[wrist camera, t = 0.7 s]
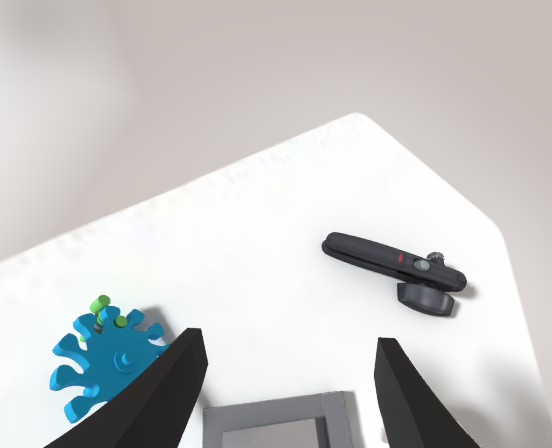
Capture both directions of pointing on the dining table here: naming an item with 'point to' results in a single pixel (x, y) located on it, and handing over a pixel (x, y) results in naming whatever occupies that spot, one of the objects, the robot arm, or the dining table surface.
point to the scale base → (282, 418)
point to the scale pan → (274, 436)
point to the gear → (104, 355)
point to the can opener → (402, 271)
